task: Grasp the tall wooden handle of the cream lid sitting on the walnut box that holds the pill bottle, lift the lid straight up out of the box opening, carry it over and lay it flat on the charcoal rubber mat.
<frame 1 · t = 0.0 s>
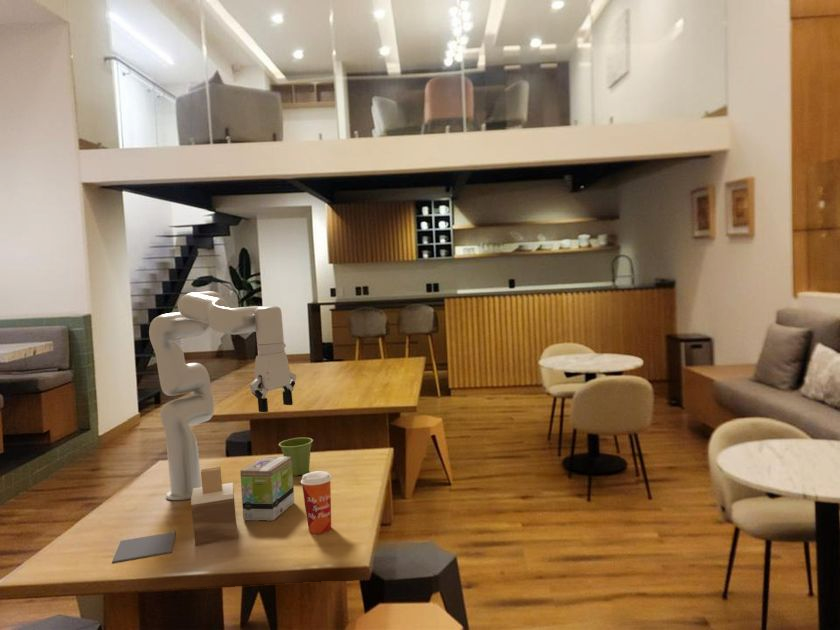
hand: (276, 408, 188), 31 cm above the table, tool pointing down, fingers open, 9 cm apart
lid: (213, 499, 177), point 10 cm above the table, touching box
tea box: (270, 512, 193), on the table
mat: (145, 547, 172), on the table
box: (216, 535, 177), on the table
plant pot: (298, 473, 230), on the table
coffee cup: (320, 530, 176), on the table
pill bottle: (216, 535, 177), resting in box
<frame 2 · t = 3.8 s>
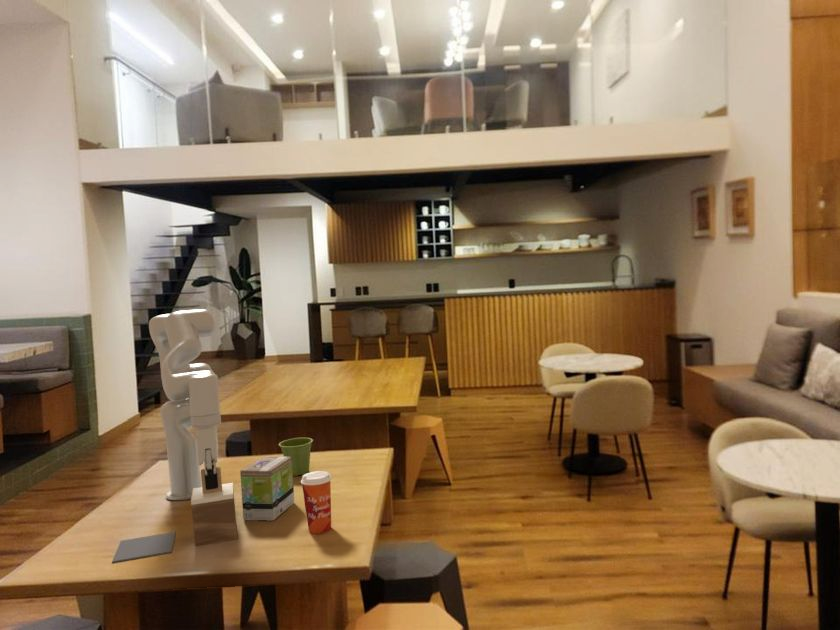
hand: (212, 486, 176), 13 cm above the table, tool pointing down, fingers closed on lid
lid: (213, 499, 177), point 10 cm above the table, touching gripper
everything else where it was.
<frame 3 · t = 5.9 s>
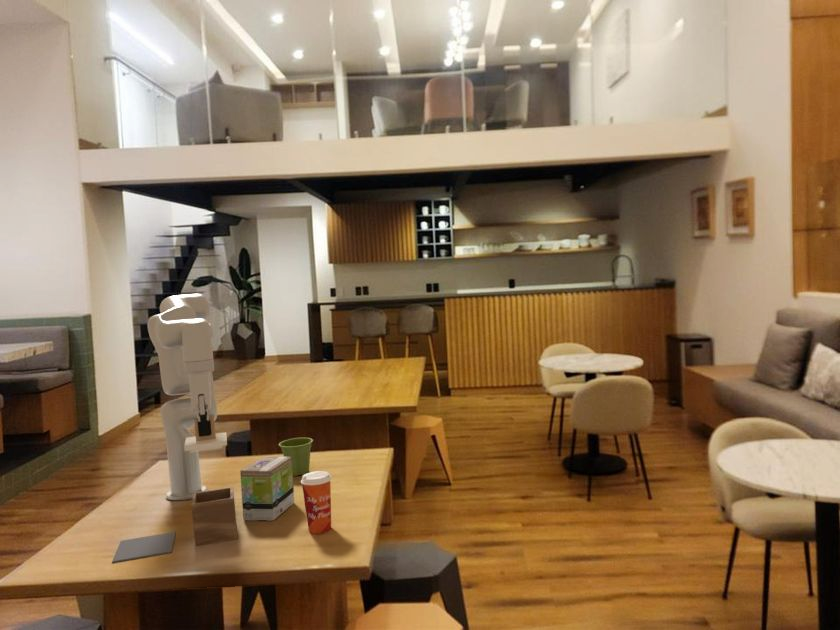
hand: (205, 433, 175), 28 cm above the table, tool pointing down, fingers closed on lid
lid: (206, 447, 176), point 24 cm above the table, touching gripper
everything else where it was.
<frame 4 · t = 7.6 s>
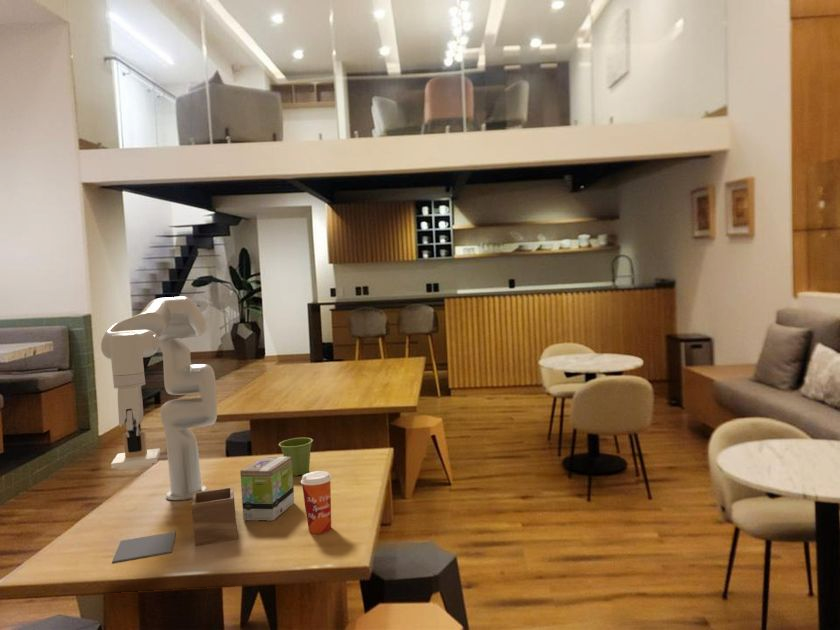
hand: (135, 449, 170), 26 cm above the table, tool pointing down, fingers closed on lid
lid: (137, 463, 171), point 22 cm above the table, touching gripper
everything else where it was.
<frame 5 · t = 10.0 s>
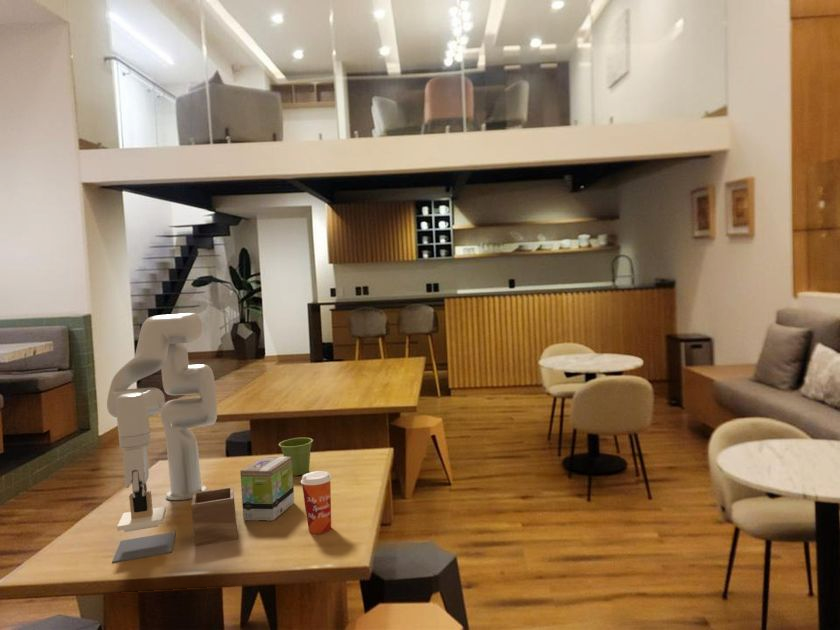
hand: (141, 508, 171), 10 cm above the table, tool pointing down, fingers closed on lid
lid: (143, 524, 172), point 6 cm above the table, touching gripper
everything else where it was.
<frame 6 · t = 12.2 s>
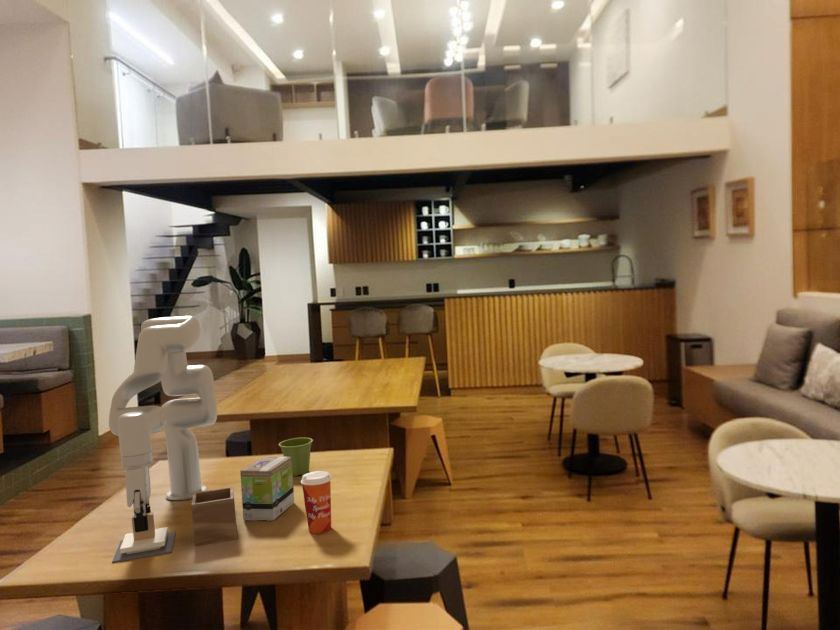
hand: (143, 525, 172), 6 cm above the table, tool pointing down, fingers open, 6 cm apart
lid: (145, 545, 172), resting on mat
everything else where it was.
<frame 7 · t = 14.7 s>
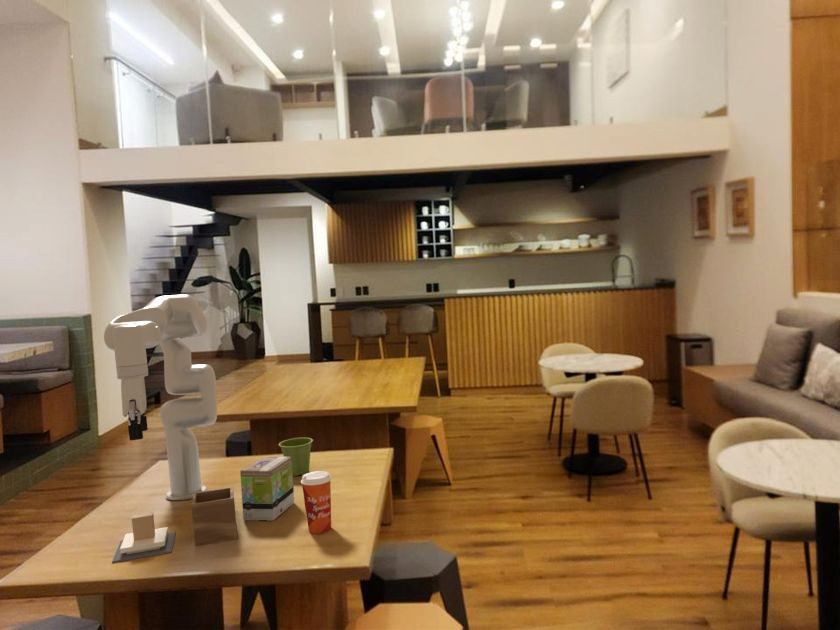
hand: (139, 435, 173), 30 cm above the table, tool pointing down, fingers open, 9 cm apart
nothing on the table moved.
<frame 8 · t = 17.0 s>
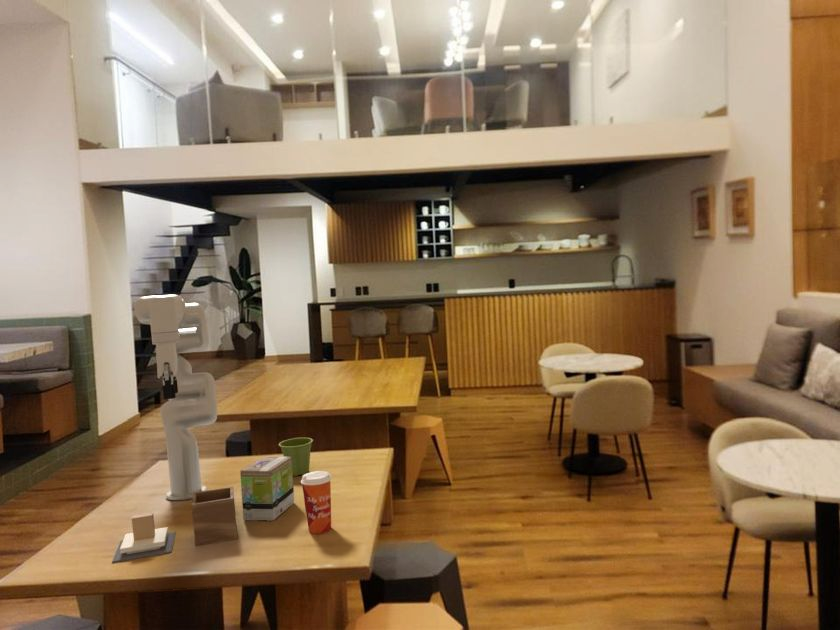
hand: (171, 396, 191), 36 cm above the table, tool pointing down, fingers open, 9 cm apart
nothing on the table moved.
at the end: lid inside the target area on the mat (0.1 cm from its centre), point 0.4 cm above the mat's base; lid tilted 0°; the gripper is holding nothing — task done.
